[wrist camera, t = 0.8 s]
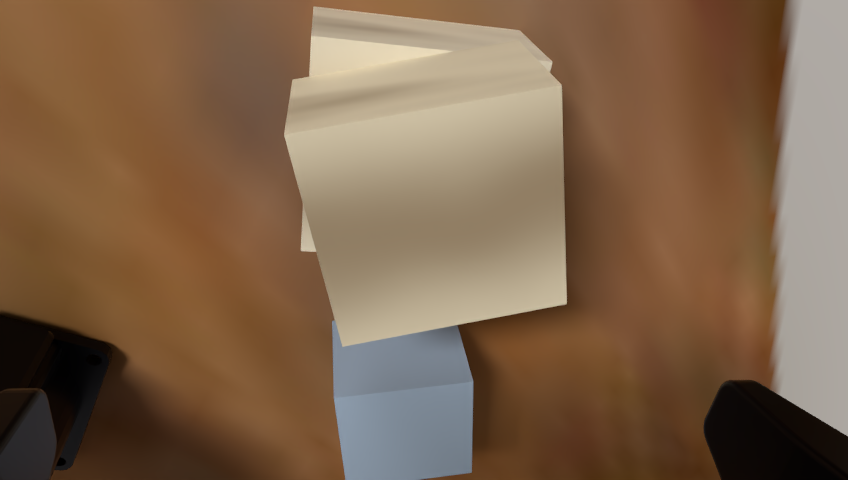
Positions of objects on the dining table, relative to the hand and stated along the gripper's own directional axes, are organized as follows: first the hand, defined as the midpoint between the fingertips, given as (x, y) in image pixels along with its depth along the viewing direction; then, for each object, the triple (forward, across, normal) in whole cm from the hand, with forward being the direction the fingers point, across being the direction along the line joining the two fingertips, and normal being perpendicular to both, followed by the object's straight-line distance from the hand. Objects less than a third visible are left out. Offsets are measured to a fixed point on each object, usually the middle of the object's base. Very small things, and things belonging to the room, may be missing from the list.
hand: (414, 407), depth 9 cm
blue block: (+13, -2, +10) cm, 17 cm away
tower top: (+10, -2, +1) cm, 10 cm away
